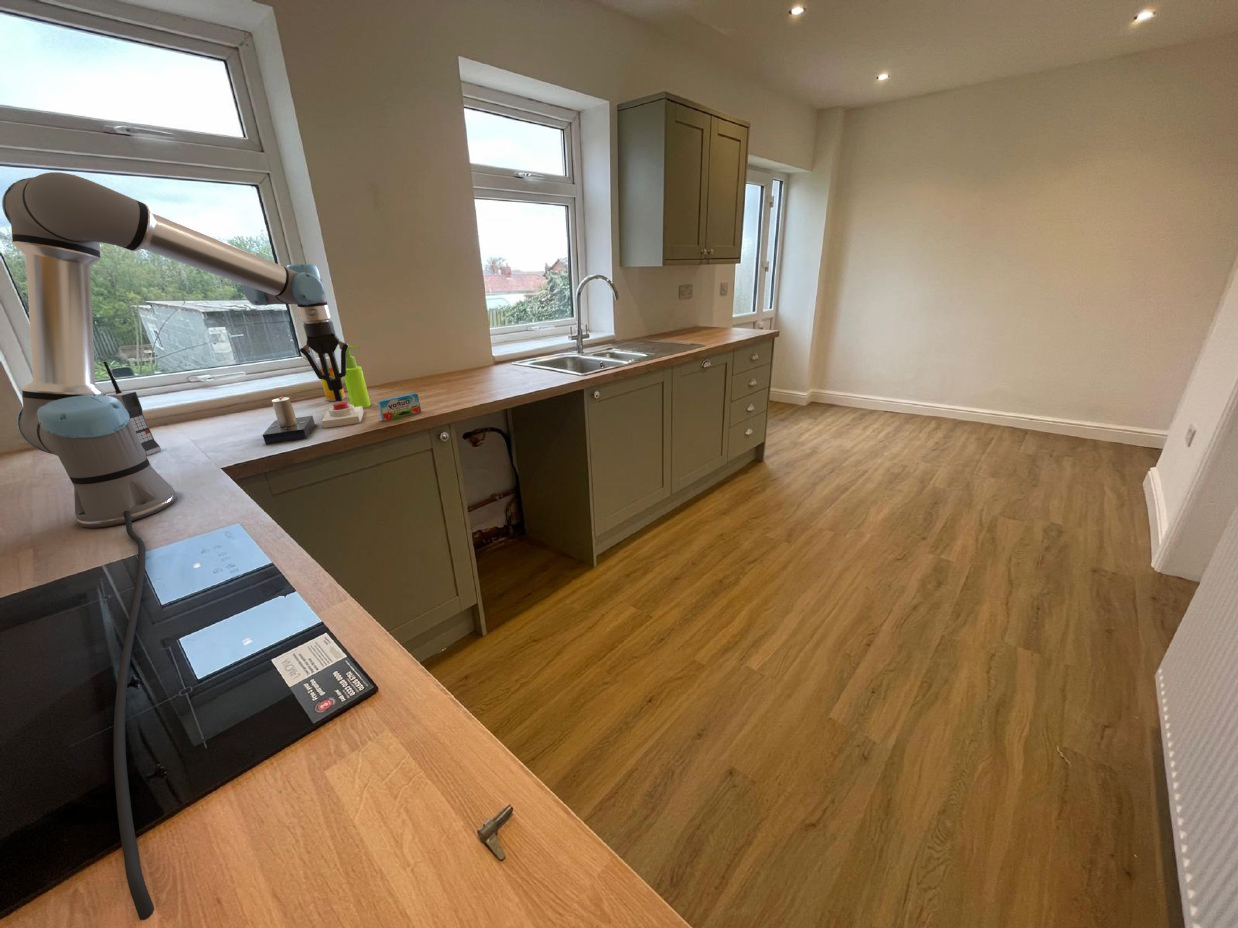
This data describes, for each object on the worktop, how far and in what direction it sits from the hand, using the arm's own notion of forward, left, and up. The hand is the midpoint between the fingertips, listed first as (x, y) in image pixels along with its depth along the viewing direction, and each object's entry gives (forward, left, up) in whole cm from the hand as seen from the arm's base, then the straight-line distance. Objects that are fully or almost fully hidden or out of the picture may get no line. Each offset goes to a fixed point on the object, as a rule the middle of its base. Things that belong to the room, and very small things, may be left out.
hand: (339, 400), depth 154 cm
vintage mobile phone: (-6, +48, -7) cm, 49 cm away
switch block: (0, 0, -6) cm, 6 cm away
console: (-8, +13, -6) cm, 17 cm away
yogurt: (-5, -17, -7) cm, 19 cm away
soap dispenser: (+15, -4, -7) cm, 17 cm away
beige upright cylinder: (-8, +13, -3) cm, 16 cm away
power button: (0, 0, -3) cm, 3 cm away
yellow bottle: (+30, +6, -7) cm, 31 cm away
